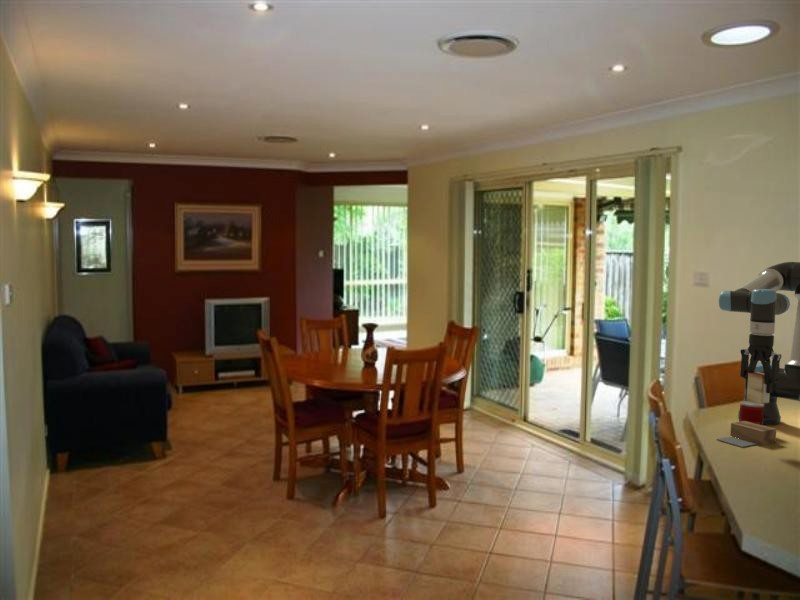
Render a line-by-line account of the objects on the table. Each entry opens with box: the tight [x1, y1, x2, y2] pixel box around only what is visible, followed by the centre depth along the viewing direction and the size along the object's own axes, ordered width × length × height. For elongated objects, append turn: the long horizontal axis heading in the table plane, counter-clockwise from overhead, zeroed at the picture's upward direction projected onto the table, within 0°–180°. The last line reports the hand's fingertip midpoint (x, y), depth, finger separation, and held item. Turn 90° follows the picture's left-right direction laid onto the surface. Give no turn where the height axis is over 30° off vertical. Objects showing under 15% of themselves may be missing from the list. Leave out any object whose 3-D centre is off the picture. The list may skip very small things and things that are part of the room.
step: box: [729, 421, 777, 446], centre depth 243 cm, size 8×12×5 cm, turn 28°
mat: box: [716, 436, 758, 448], centre depth 239 cm, size 8×10×1 cm
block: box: [747, 372, 769, 404], centre depth 234 cm, size 5×5×10 cm
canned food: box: [738, 400, 764, 426], centre depth 253 cm, size 8×8×11 cm
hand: (757, 400), depth 234 cm, fingers closed on block, 5 cm apart
